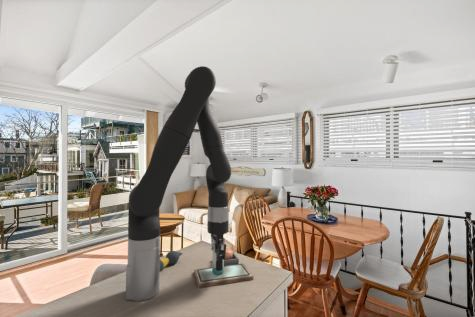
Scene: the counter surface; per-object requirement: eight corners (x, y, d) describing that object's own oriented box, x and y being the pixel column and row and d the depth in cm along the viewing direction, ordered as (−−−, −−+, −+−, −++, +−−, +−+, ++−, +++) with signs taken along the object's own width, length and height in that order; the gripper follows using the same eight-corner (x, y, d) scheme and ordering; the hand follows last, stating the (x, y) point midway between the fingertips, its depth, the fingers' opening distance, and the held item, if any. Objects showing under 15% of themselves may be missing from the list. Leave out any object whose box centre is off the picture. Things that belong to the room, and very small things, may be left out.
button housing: (218, 268, 89) (218, 261, 89) (214, 259, 97) (214, 253, 97) (238, 265, 91) (238, 258, 91) (232, 257, 99) (232, 251, 99)
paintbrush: (148, 282, 78) (148, 267, 78) (137, 279, 80) (137, 264, 80) (184, 260, 96) (184, 248, 96) (175, 258, 98) (175, 246, 98)
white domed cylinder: (213, 274, 80) (213, 252, 80) (211, 269, 84) (211, 248, 84) (224, 273, 81) (225, 251, 81) (222, 268, 85) (222, 247, 85)
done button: (221, 260, 91) (221, 254, 91) (218, 255, 96) (218, 249, 96) (234, 259, 92) (234, 252, 92) (230, 254, 97) (230, 248, 97)
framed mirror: (198, 287, 75) (198, 283, 75) (193, 272, 85) (194, 268, 85) (253, 279, 80) (253, 275, 80) (243, 266, 91) (243, 262, 91)
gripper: (204, 215, 88) (203, 260, 88) (211, 224, 75) (211, 278, 74) (223, 213, 91) (223, 258, 90) (234, 222, 77) (233, 275, 77)
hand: (217, 267), depth 82 cm, fingers closed on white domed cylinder, 4 cm apart
